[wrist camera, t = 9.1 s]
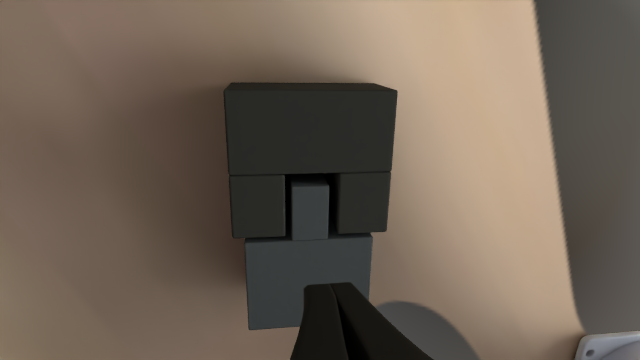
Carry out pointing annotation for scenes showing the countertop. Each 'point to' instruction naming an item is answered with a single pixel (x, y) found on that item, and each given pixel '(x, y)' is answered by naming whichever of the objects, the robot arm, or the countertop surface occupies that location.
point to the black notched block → (309, 151)
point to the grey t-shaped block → (302, 257)
